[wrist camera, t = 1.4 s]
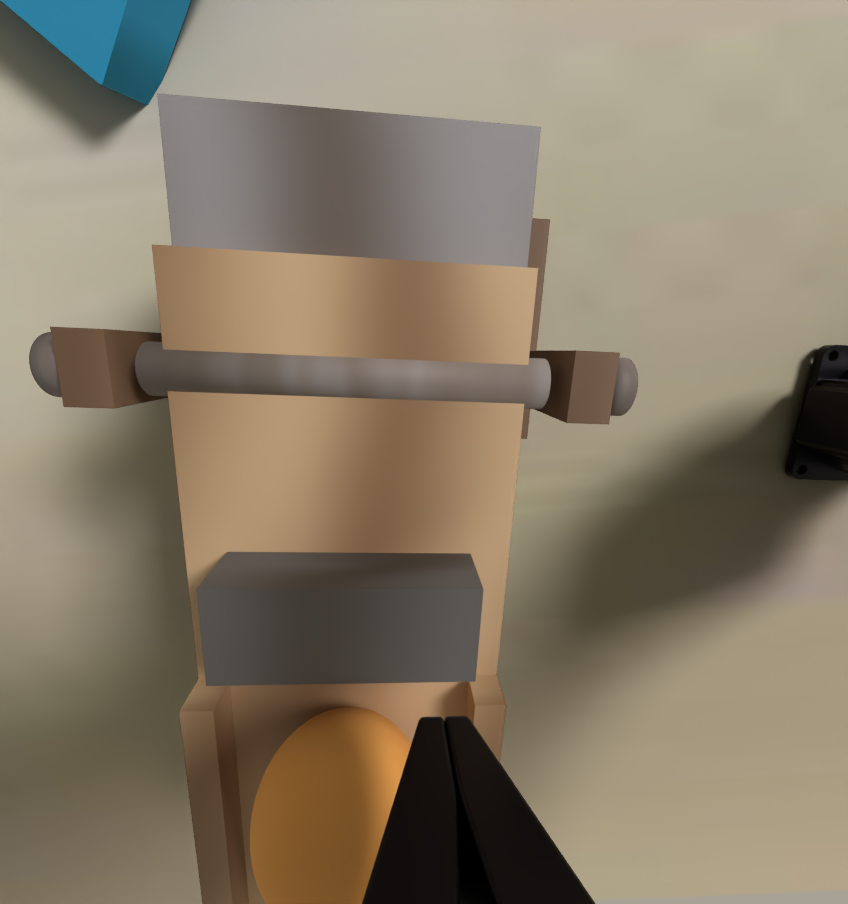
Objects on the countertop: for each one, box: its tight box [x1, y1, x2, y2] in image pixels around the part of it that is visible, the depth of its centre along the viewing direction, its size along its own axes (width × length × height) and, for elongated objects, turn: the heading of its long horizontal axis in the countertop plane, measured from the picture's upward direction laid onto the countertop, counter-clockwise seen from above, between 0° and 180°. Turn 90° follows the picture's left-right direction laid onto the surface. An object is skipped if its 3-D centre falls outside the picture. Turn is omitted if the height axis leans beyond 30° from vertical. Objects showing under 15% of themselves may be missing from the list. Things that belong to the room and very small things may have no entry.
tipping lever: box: [135, 94, 551, 904], centre depth 13 cm, size 9×22×7 cm, turn 178°
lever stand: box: [29, 218, 638, 439], centre depth 13 cm, size 14×9×10 cm, turn 87°
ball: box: [250, 707, 411, 904], centre depth 10 cm, size 4×4×4 cm
